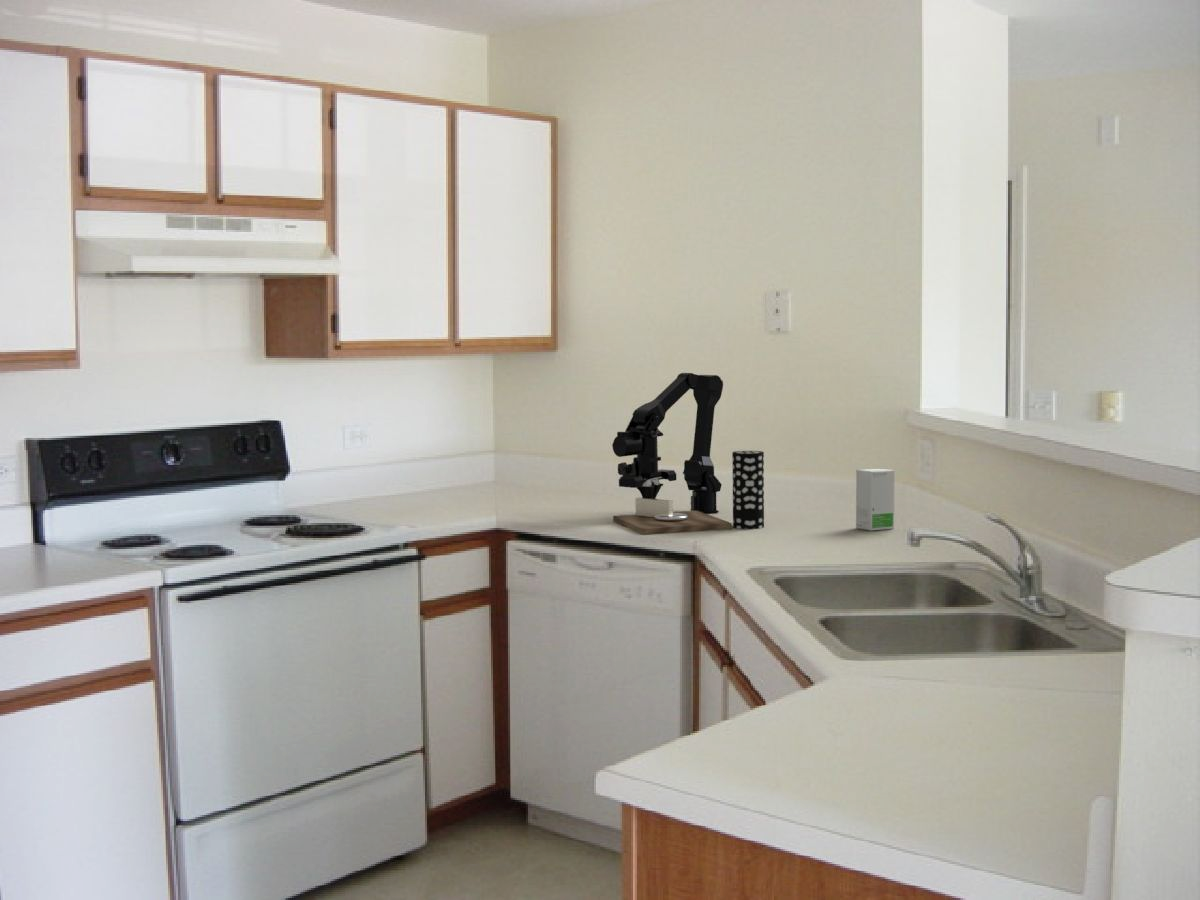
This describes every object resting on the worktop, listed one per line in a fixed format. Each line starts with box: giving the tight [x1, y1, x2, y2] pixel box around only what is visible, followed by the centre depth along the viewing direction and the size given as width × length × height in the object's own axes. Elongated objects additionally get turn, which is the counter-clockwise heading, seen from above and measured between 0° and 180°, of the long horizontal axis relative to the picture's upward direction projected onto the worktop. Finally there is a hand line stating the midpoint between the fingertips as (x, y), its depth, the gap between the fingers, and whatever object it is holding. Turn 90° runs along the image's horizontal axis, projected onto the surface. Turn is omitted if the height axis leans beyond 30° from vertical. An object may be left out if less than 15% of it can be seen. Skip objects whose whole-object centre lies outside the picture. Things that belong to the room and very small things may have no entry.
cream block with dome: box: [635, 496, 688, 521], centre depth 358 cm, size 16×9×5 cm, turn 50°
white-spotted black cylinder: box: [732, 450, 765, 530], centre depth 350 cm, size 8×8×20 cm
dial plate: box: [612, 510, 733, 536], centre depth 356 cm, size 25×25×2 cm
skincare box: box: [855, 468, 895, 532], centre depth 344 cm, size 8×7×16 cm
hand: (648, 509), depth 365 cm, fingers closed
